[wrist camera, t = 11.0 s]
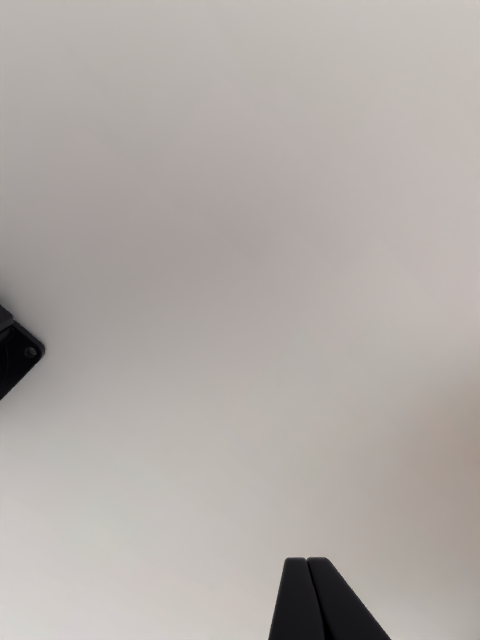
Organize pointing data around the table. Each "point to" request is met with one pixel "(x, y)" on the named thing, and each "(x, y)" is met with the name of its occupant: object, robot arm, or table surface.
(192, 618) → the table surface
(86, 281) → the table surface
